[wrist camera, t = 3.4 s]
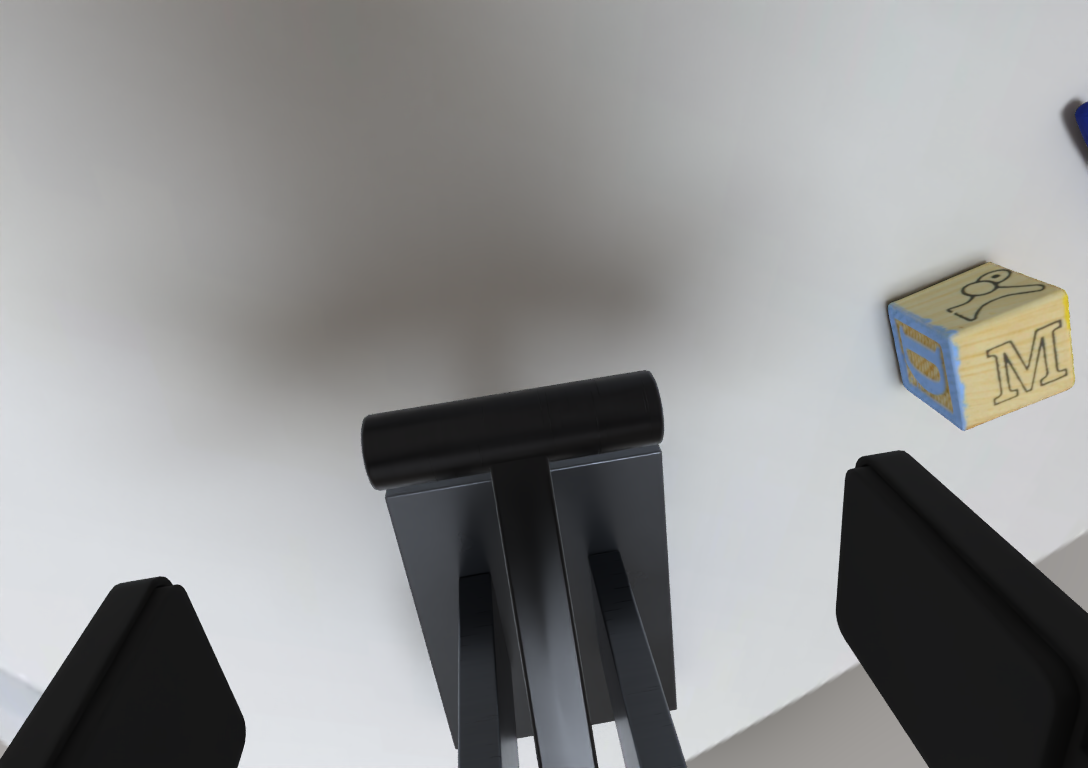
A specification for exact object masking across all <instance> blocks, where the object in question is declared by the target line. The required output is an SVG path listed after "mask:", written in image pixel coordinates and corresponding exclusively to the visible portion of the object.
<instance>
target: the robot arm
mask: <svg viewBox="0 0 1088 768" xmlns="http://www.w3.org/2000/svg"><path fill="white" fill-rule="evenodd" d="M836 617H837V622H838V626H839V629H840V631H841V633H842V635H843V637H844V639H845V640H846V642H847V643H848V645H849V646H850V648H851V649H852V651H853V652H854V654H855V656H856V657H857V659H858V660H859V662H860V663H861V665H862V666H863V668H864V669H865V671H866V672H867V674H868V675H869V677H870V678H871V680H872V681H873V683H874V684H875V686H876V687H877V689H878V691H879V692H880V694H881V695H882V697H883V698H884V699H885V701H886V703H887V704H888V706H889V707H890V709H891V710H892V712H893V713H894V715H895V716H896V718H897V719H898V721H899V722H900V724H901V726H902V727H903V729H904V730H905V732H906V733H907V735H908V736H909V737H910V739H911V740H912V742H913V744H914V745H915V747H916V748H917V750H918V751H919V753H920V754H921V756H922V757H923V759H924V761H925V762H926V763H927V765H928V767H929V768H1088V613H1087V612H1086V611H1084V610H1083V609H1082V608H1081V607H1080V606H1079V605H1078V604H1077V603H1075V602H1074V601H1073V600H1072V599H1071V598H1070V597H1069V596H1067V594H1065V593H1064V592H1063V591H1062V590H1061V589H1060V588H1059V587H1058V586H1056V585H1055V584H1054V583H1053V582H1052V581H1051V580H1050V579H1049V578H1047V577H1046V576H1045V575H1044V574H1043V573H1042V572H1041V571H1040V570H1038V569H1037V568H1036V567H1035V566H1034V565H1033V564H1032V563H1031V562H1029V561H1028V560H1027V559H1026V558H1025V557H1024V556H1023V555H1022V554H1020V553H1019V552H1018V551H1017V550H1016V549H1015V548H1014V547H1013V546H1012V545H1010V544H1009V543H1008V542H1007V541H1006V540H1005V539H1004V538H1003V537H1001V536H1000V535H999V534H998V533H997V532H996V531H995V530H994V529H992V528H991V527H990V526H989V525H988V524H987V523H986V522H985V521H983V520H982V519H981V518H980V517H979V516H978V515H977V514H976V513H974V512H973V511H972V510H971V509H970V508H969V507H968V506H967V505H965V504H964V503H963V502H962V501H961V500H960V499H959V498H958V497H957V496H955V495H954V494H953V493H952V492H951V491H950V490H949V489H948V488H946V487H945V486H944V485H943V484H942V483H941V482H940V481H939V480H937V479H936V478H935V477H934V476H933V475H932V474H931V473H930V472H928V471H927V470H926V469H925V468H924V467H923V466H922V465H921V464H919V463H918V462H917V461H916V460H915V459H914V458H913V457H912V456H910V455H909V454H908V453H906V452H905V451H900V450H898V451H892V452H886V453H880V454H874V455H868V456H863V457H861V458H859V459H858V461H857V463H856V466H855V468H853V469H850V470H848V471H847V473H846V477H845V487H844V501H843V515H842V529H841V543H840V557H839V572H838V586H837V600H836ZM245 737H246V727H245V721H244V718H243V715H242V713H241V711H240V709H239V706H238V704H237V702H236V700H235V698H234V695H233V693H232V691H231V689H230V687H229V684H228V682H227V680H226V678H225V676H224V673H223V671H222V669H221V667H220V665H219V662H218V660H217V658H216V656H215V654H214V652H213V649H212V647H211V645H210V643H209V641H208V638H207V636H206V634H205V632H204V630H203V627H202V625H201V623H200V621H199V619H198V616H197V614H196V612H195V610H194V608H193V605H192V603H191V601H190V599H189V597H188V595H187V592H186V591H185V589H184V588H183V587H182V586H181V585H172V583H171V582H170V580H168V579H167V578H166V577H161V576H160V577H154V578H148V579H142V580H136V581H131V582H125V583H120V584H118V585H116V586H114V587H113V589H112V590H111V591H110V592H109V594H108V595H107V597H106V598H105V600H104V601H103V603H102V604H101V606H100V607H99V609H98V610H97V612H96V614H95V615H94V617H93V618H92V620H91V621H90V623H89V624H88V626H87V627H86V629H85V630H84V632H83V633H82V635H81V637H80V638H79V640H78V641H77V643H76V644H75V646H74V647H73V649H72V650H71V652H70V653H69V655H68V656H67V658H66V659H65V661H64V663H63V664H62V666H61V667H60V669H59V670H58V672H57V673H56V675H55V676H54V678H53V679H52V681H51V682H50V684H49V685H48V687H47V689H46V690H45V692H44V693H43V695H42V696H41V698H40V699H39V701H38V702H37V704H36V705H35V707H34V708H33V710H32V711H31V713H30V715H29V716H28V718H27V719H26V721H25V722H24V724H23V725H22V727H21V728H20V730H19V731H18V733H17V734H16V736H15V738H14V739H13V741H12V742H11V744H10V745H9V747H8V748H7V750H6V751H5V753H4V754H3V756H2V757H1V759H0V768H237V767H238V764H239V761H240V758H241V755H242V751H243V748H244V744H245Z"/></svg>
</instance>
